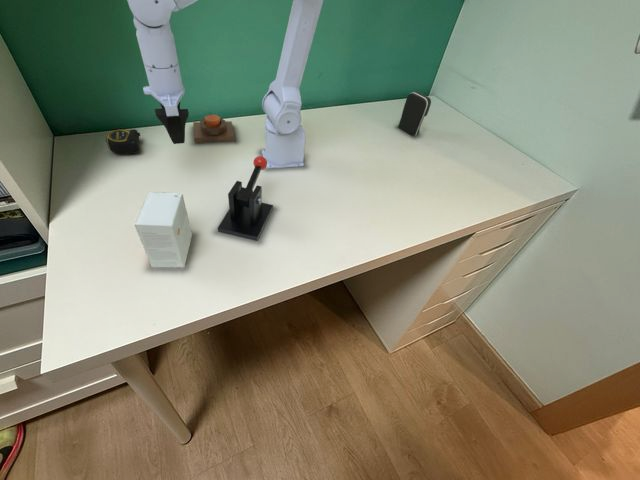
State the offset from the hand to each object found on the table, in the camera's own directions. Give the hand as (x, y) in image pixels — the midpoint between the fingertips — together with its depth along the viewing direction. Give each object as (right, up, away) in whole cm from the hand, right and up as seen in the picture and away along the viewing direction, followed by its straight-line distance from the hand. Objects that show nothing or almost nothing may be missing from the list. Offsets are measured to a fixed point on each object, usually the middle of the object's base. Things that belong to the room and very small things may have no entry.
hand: (176, 133), depth 68 cm
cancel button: (+2, +8, +17) cm, 19 cm away
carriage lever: (+16, -11, -2) cm, 20 cm away
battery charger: (+58, +12, +35) cm, 68 cm away
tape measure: (-16, 0, +11) cm, 20 cm away
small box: (+3, -24, -8) cm, 26 cm away
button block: (+1, +6, +20) cm, 21 cm away
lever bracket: (+15, -18, -1) cm, 23 cm away
